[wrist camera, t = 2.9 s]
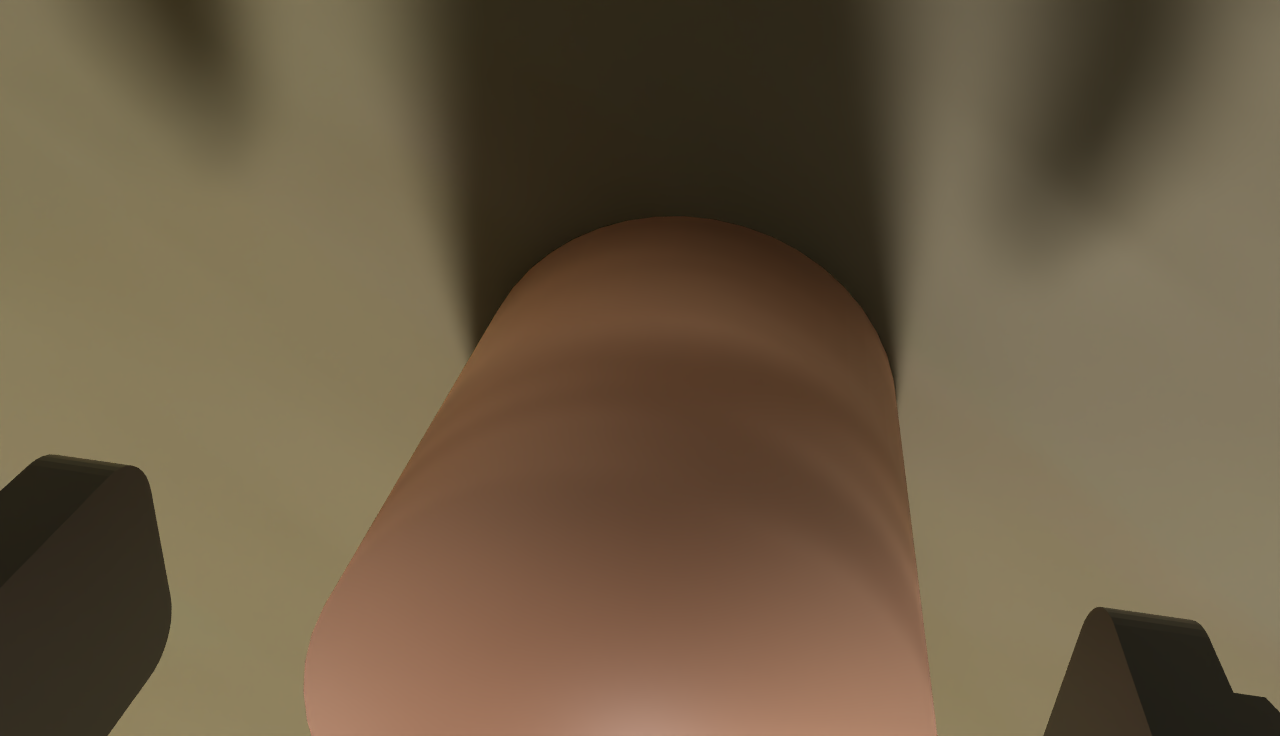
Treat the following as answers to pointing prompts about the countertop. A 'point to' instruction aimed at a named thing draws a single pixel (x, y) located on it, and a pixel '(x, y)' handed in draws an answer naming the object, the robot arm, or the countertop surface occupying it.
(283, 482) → the countertop surface
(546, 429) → the peach rounded cylinder
